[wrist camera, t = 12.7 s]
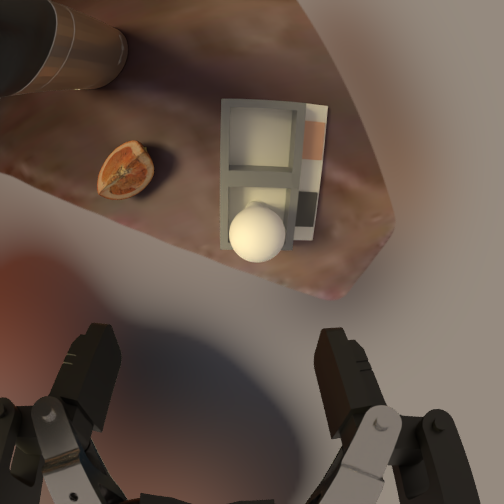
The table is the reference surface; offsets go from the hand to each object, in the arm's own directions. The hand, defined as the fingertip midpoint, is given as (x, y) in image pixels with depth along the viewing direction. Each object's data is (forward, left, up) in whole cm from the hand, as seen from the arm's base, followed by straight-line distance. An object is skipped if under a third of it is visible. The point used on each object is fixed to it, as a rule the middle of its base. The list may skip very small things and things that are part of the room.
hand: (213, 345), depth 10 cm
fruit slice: (-13, 0, -30) cm, 33 cm away
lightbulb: (+3, -6, -29) cm, 30 cm away
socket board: (+6, -1, -30) cm, 30 cm away
